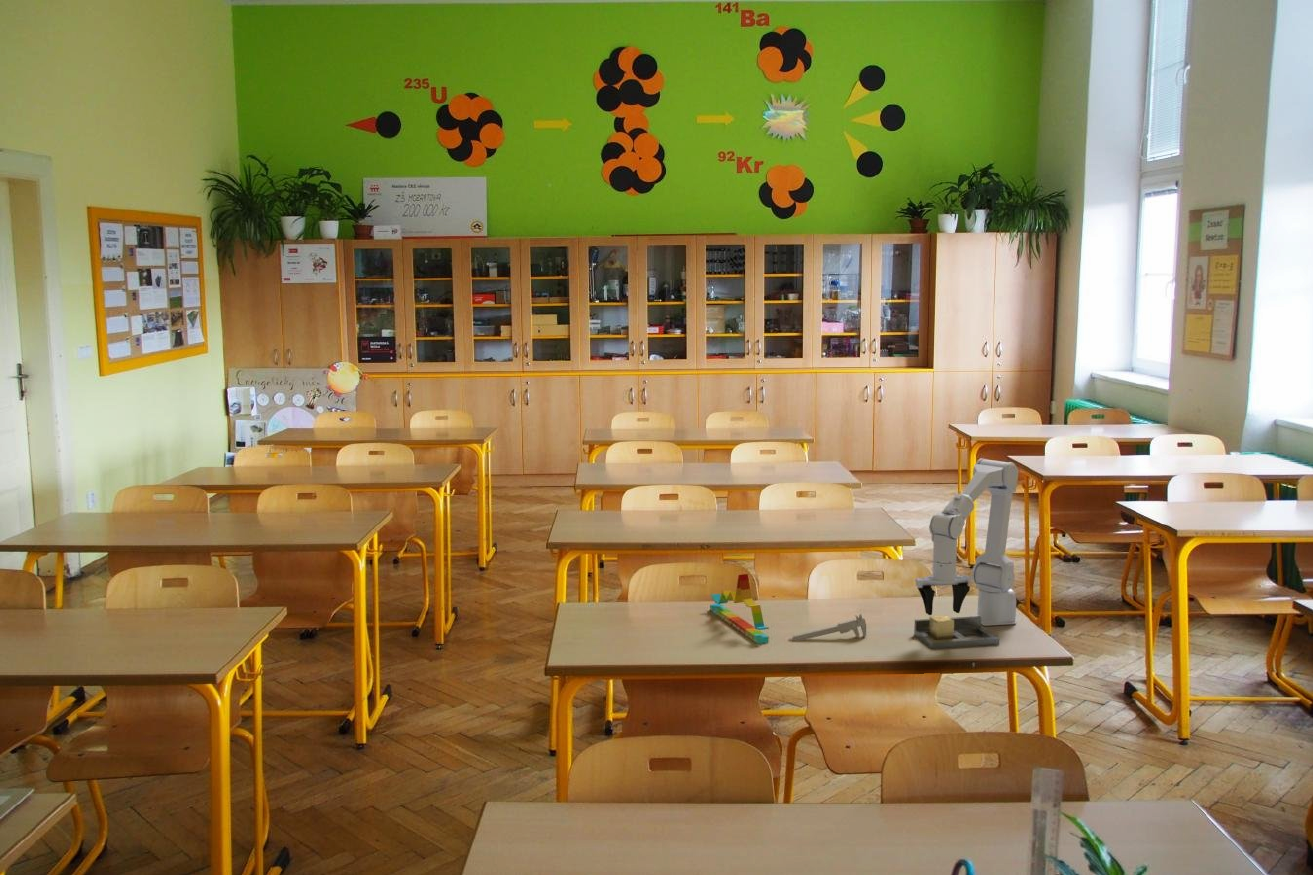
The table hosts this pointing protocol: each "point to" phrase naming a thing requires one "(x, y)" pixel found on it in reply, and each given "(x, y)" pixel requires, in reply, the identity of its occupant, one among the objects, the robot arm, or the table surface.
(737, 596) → the rainbow striped peaked bar
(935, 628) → the brass block
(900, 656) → the table surface
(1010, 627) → the table surface
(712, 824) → the table surface
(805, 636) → the caliper
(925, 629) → the grey tray
